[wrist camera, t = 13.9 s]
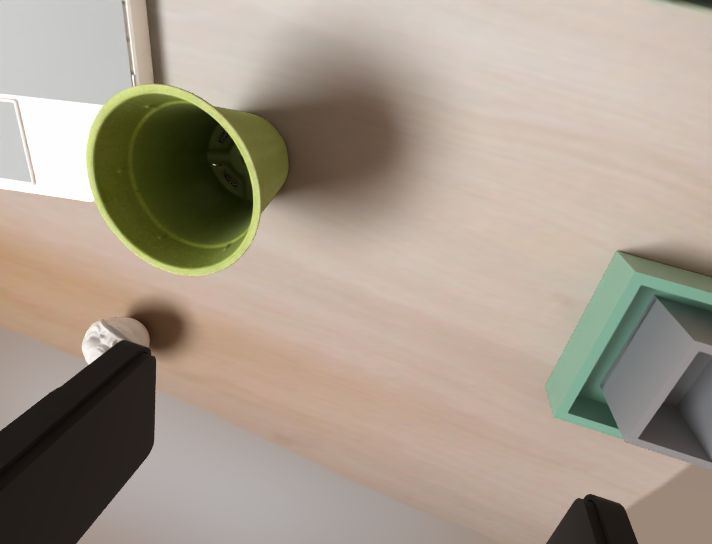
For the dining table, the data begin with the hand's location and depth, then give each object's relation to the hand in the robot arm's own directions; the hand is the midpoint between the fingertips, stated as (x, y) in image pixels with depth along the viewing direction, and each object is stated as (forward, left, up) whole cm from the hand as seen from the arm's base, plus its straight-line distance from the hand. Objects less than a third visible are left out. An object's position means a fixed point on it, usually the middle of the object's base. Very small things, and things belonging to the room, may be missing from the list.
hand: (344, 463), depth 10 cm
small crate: (+8, +22, -27) cm, 36 cm away
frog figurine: (+23, -25, -28) cm, 44 cm away
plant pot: (+2, -15, -28) cm, 32 cm away
